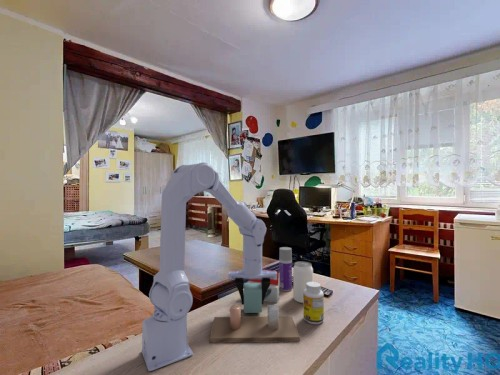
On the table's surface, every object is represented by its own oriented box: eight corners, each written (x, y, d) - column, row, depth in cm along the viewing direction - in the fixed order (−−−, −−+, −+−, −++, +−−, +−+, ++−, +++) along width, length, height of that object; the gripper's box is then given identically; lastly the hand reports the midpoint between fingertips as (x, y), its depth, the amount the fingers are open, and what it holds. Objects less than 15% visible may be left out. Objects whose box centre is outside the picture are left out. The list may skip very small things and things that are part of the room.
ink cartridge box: (277, 303, 82) (277, 273, 82) (246, 297, 86) (246, 269, 86) (279, 300, 84) (279, 271, 84) (248, 294, 88) (248, 267, 88)
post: (268, 329, 65) (268, 309, 65) (267, 323, 67) (267, 305, 67) (278, 328, 65) (278, 309, 65) (277, 323, 68) (277, 304, 68)
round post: (233, 330, 64) (233, 311, 64) (228, 325, 66) (228, 306, 66) (242, 327, 66) (242, 308, 66) (237, 322, 68) (237, 304, 68)
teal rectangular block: (243, 312, 73) (243, 290, 73) (243, 304, 78) (244, 283, 78) (261, 312, 73) (261, 289, 73) (260, 304, 78) (260, 283, 78)
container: (291, 291, 90) (291, 250, 90) (278, 290, 91) (278, 249, 91) (292, 286, 95) (292, 247, 95) (279, 285, 96) (279, 246, 96)
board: (209, 342, 61) (209, 338, 61) (214, 320, 71) (214, 317, 71) (299, 341, 61) (299, 337, 61) (292, 319, 71) (292, 316, 71)
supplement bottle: (301, 315, 74) (301, 280, 74) (320, 314, 74) (319, 280, 74) (306, 325, 68) (306, 288, 68) (326, 325, 69) (326, 287, 69)
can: (315, 298, 85) (315, 262, 85) (309, 305, 80) (309, 268, 80) (297, 293, 89) (297, 260, 89) (290, 300, 83) (290, 264, 83)
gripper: (275, 254, 80) (274, 297, 80) (229, 254, 80) (229, 297, 79) (278, 260, 73) (277, 307, 73) (227, 260, 72) (227, 307, 72)
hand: (252, 303), depth 76 cm, fingers closed on teal rectangular block, 5 cm apart
